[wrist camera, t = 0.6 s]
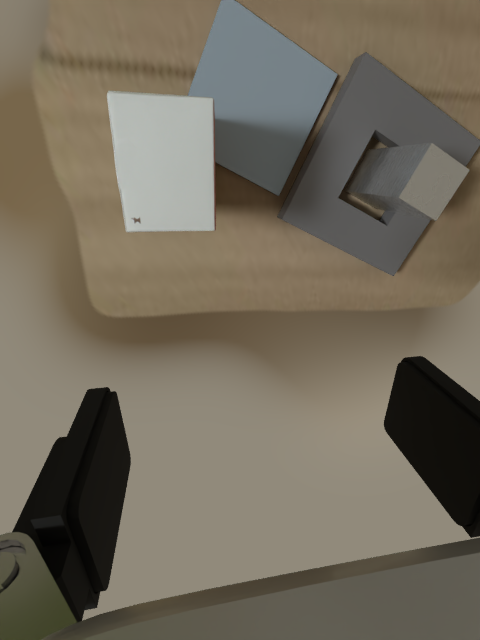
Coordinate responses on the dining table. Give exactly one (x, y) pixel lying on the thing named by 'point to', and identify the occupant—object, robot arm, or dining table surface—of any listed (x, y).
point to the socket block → (346, 149)
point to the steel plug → (408, 179)
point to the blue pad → (259, 95)
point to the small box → (164, 160)
